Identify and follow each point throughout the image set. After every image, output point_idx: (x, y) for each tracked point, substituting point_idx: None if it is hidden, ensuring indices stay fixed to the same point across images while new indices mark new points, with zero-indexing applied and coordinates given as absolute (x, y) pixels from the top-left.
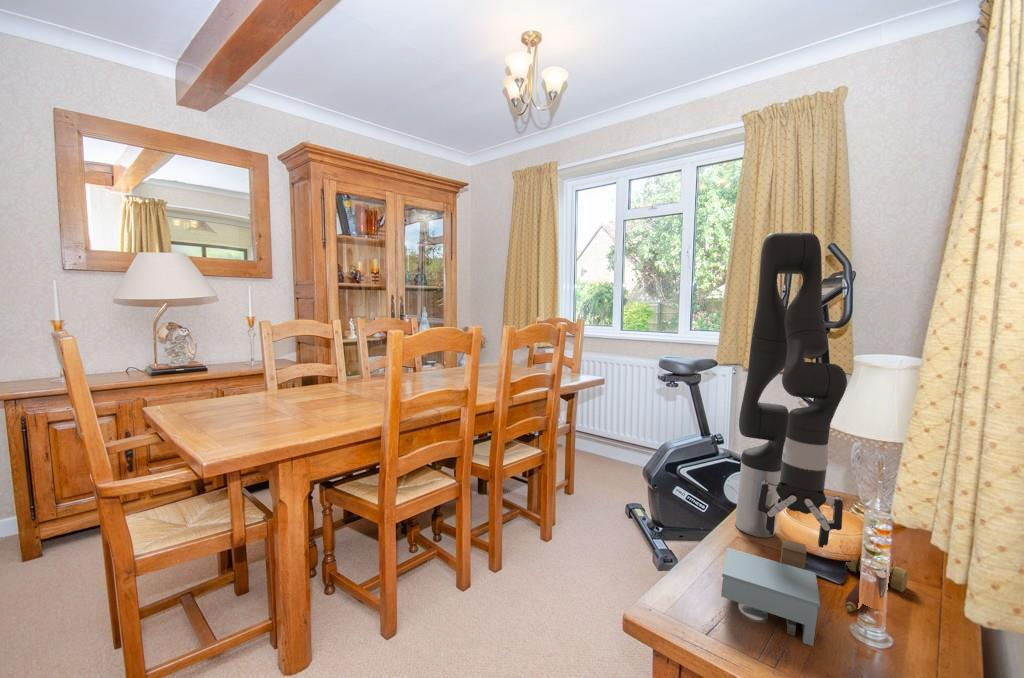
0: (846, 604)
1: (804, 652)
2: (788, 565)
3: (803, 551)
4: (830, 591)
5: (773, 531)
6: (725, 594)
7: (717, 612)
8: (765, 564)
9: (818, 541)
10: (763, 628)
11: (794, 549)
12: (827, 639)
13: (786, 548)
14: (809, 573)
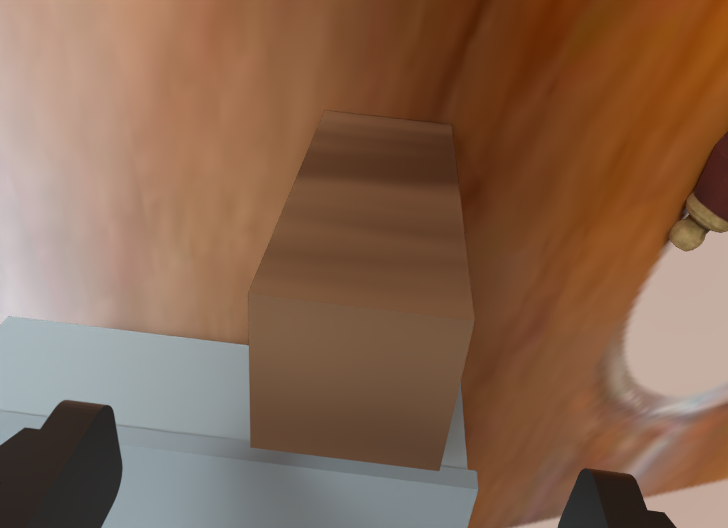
0: (688, 210)
1: None
2: (308, 471)
3: (420, 447)
4: (664, 41)
5: (102, 521)
6: None
7: None
8: (168, 505)
9: (584, 501)
10: None
11: (344, 443)
12: (484, 436)
13: (278, 448)
14: (434, 504)
